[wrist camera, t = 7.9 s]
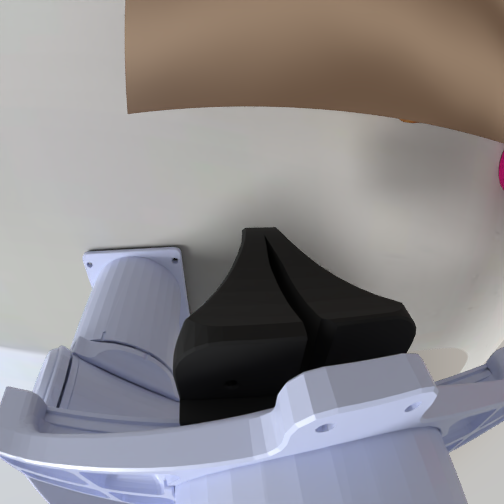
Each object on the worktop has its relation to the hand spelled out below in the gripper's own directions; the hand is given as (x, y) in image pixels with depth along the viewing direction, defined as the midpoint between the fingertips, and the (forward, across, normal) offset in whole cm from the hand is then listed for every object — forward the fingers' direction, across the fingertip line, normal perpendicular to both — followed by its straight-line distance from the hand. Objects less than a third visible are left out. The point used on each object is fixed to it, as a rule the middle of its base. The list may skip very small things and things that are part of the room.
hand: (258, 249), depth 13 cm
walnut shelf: (+10, -6, -12) cm, 16 cm away
